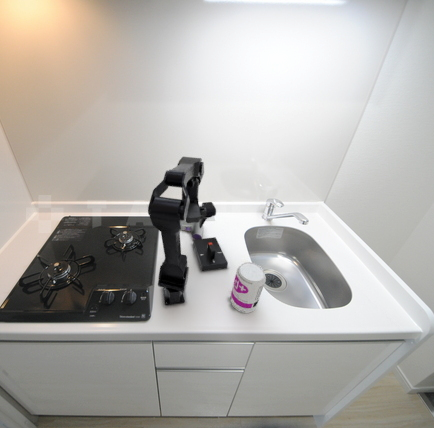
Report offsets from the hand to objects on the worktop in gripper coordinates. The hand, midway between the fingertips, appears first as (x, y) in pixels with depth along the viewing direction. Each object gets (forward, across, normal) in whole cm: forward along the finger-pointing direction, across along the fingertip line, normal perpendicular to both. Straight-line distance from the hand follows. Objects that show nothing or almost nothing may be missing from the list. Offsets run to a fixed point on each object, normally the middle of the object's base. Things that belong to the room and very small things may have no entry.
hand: (188, 228), depth 81 cm
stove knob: (+9, +8, -6) cm, 13 cm away
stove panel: (+12, +8, -4) cm, 15 cm away
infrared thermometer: (+12, +2, +12) cm, 17 cm away
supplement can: (+12, +14, -26) cm, 31 cm away
